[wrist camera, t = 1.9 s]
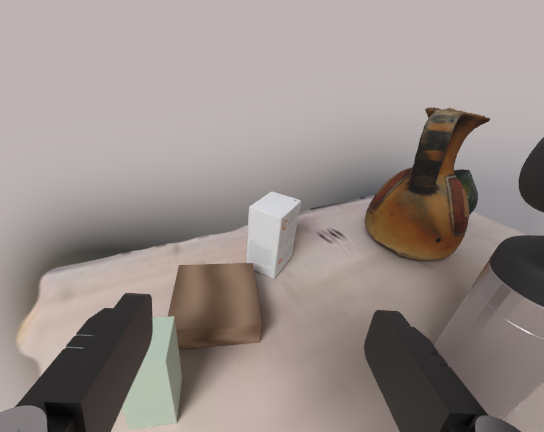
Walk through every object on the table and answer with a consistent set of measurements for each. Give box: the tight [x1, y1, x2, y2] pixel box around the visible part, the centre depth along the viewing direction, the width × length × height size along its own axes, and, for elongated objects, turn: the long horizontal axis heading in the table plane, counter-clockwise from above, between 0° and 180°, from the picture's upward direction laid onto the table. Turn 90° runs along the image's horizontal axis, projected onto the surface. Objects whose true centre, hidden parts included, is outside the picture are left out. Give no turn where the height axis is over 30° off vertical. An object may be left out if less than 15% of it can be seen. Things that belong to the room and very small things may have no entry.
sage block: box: [122, 316, 182, 430], centre depth 26 cm, size 4×4×11 cm
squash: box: [454, 170, 478, 215], centre depth 74 cm, size 14×15×15 cm
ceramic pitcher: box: [365, 108, 490, 260], centre depth 54 cm, size 20×20×30 cm
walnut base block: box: [168, 263, 262, 349], centre depth 39 cm, size 12×12×4 cm
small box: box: [246, 192, 301, 279], centre depth 48 cm, size 8×6×13 cm
